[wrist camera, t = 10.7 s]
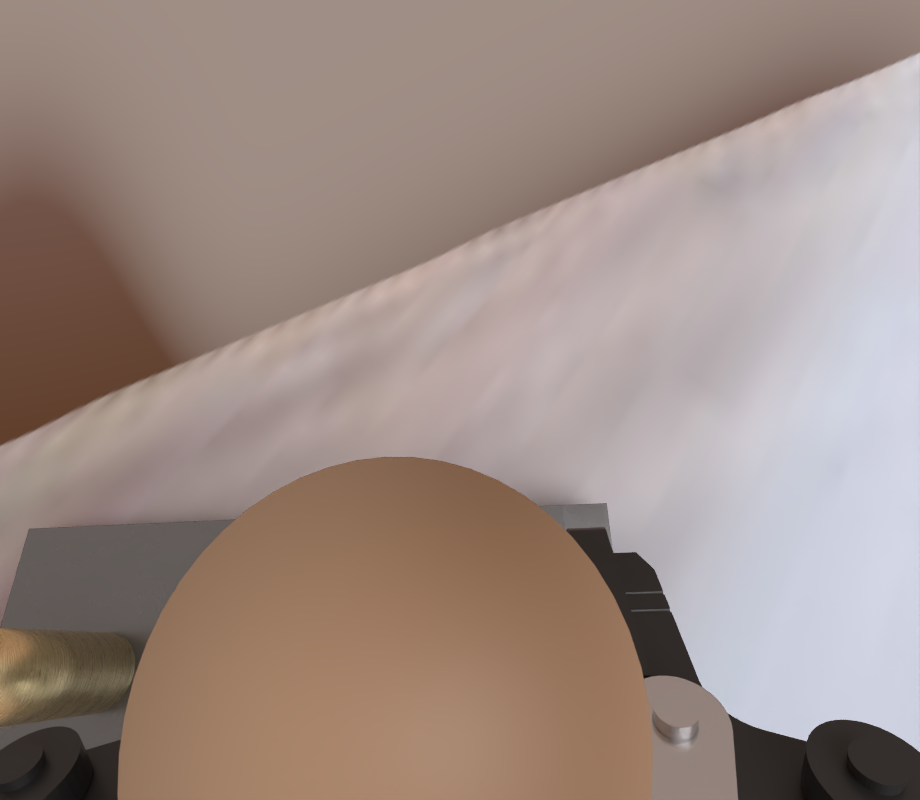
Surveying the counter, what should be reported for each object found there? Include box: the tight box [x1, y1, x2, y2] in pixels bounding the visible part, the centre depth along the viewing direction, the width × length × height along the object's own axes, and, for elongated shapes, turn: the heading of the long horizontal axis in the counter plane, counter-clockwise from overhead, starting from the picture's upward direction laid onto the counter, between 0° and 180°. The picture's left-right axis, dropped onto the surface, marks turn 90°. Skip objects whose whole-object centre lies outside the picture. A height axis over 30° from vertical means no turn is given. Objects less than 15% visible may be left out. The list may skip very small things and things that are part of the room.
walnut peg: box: [117, 457, 653, 800], centre depth 10 cm, size 4×4×12 cm
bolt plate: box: [0, 503, 612, 750], centre depth 19 cm, size 26×12×13 cm, turn 91°
